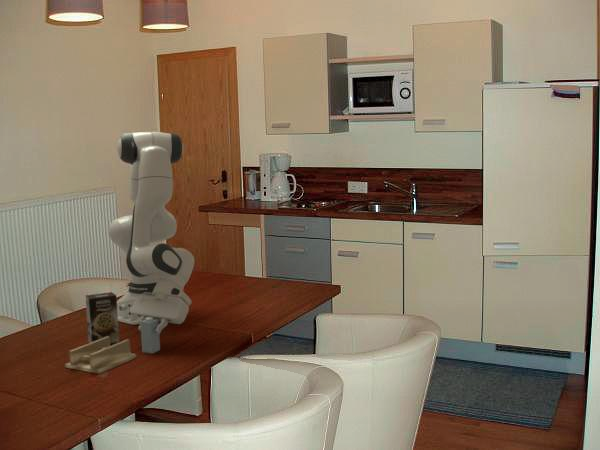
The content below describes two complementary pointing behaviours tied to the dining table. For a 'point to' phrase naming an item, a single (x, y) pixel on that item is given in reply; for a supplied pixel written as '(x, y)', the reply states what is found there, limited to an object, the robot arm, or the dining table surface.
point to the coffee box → (102, 317)
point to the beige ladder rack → (100, 355)
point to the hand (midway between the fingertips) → (148, 331)
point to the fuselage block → (149, 335)
